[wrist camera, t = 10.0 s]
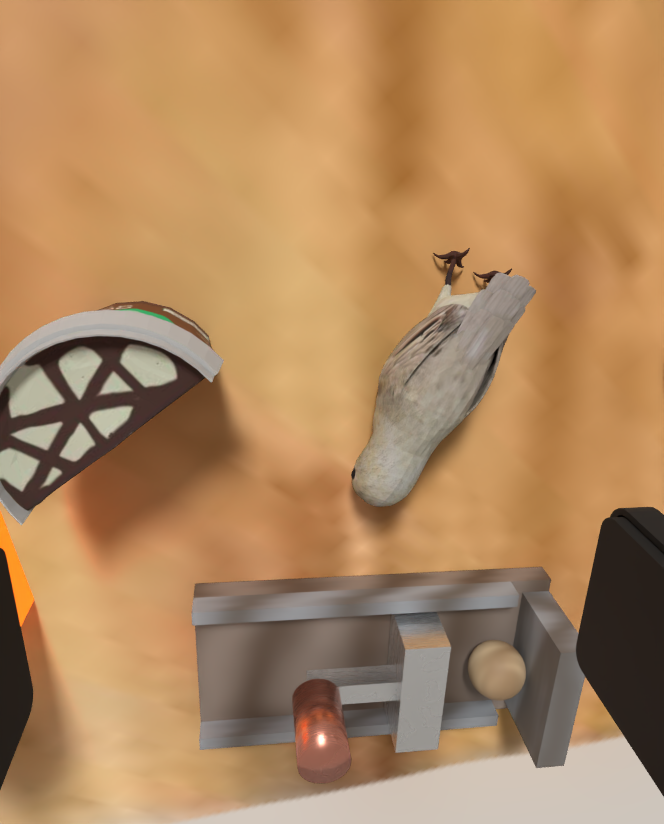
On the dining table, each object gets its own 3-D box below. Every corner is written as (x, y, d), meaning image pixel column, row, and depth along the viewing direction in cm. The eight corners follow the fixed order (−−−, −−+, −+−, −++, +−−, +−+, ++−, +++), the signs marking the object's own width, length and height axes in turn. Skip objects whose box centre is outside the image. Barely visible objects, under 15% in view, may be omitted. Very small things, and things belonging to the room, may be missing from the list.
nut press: (541, 566, 46) (593, 638, 39) (518, 691, 50) (561, 775, 44) (195, 583, 43) (185, 664, 36) (202, 715, 47) (195, 810, 40)
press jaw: (434, 605, 44) (471, 695, 37) (423, 703, 47) (455, 803, 40) (289, 613, 43) (298, 708, 35) (288, 713, 46) (296, 819, 39)
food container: (156, 232, 34) (122, 259, 25) (228, 320, 37) (222, 374, 27) (-10, 365, 36) (-99, 436, 27) (69, 441, 38) (12, 531, 29)
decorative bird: (321, 464, 41) (336, 526, 34) (434, 232, 36) (478, 249, 29) (393, 490, 42) (421, 555, 35) (511, 269, 38) (570, 294, 31)
